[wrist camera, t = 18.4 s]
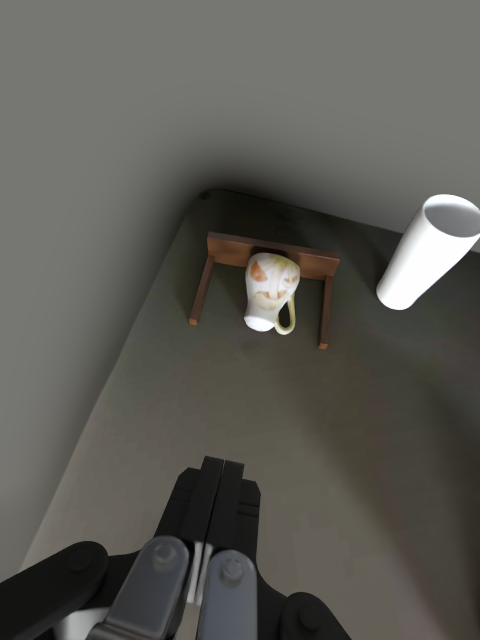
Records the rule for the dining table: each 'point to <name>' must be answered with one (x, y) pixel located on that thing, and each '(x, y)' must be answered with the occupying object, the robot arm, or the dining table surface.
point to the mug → (270, 291)
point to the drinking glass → (429, 248)
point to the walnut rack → (243, 248)
